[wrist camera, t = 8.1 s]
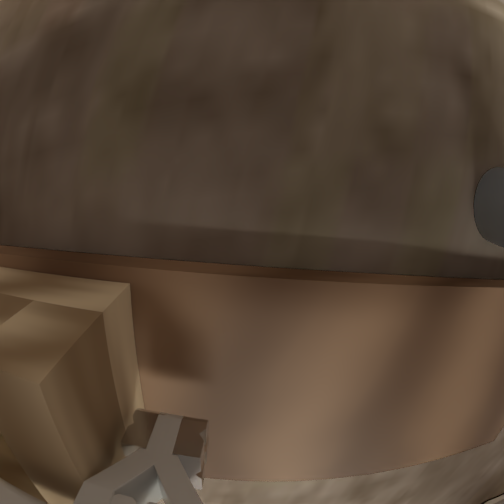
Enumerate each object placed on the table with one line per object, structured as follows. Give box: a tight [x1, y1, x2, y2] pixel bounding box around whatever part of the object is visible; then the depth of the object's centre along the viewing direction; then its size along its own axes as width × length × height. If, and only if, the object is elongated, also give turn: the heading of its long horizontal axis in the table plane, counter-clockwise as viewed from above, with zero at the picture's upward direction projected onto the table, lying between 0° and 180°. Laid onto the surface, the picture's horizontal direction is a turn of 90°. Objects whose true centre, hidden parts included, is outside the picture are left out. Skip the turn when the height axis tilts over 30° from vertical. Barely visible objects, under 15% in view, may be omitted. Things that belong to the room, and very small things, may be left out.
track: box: [0, 245, 504, 481], centre depth 7 cm, size 31×10×8 cm, turn 86°
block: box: [0, 267, 145, 504], centre depth 8 cm, size 9×9×5 cm
